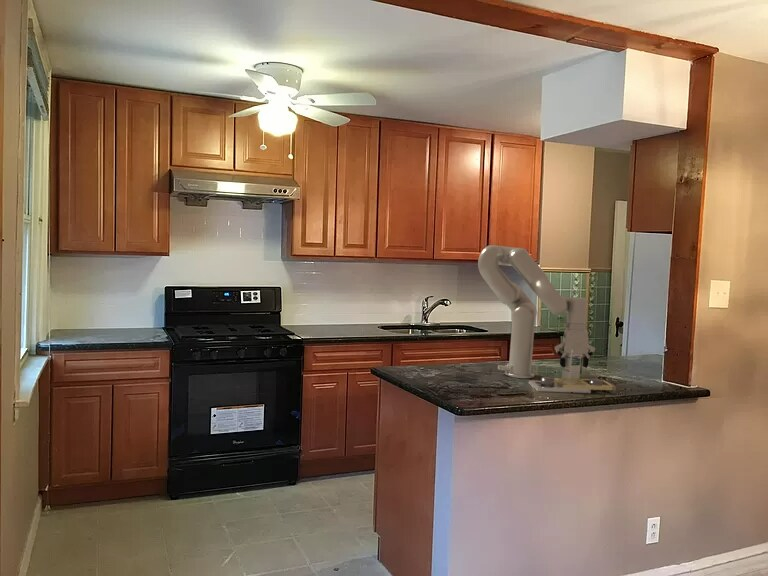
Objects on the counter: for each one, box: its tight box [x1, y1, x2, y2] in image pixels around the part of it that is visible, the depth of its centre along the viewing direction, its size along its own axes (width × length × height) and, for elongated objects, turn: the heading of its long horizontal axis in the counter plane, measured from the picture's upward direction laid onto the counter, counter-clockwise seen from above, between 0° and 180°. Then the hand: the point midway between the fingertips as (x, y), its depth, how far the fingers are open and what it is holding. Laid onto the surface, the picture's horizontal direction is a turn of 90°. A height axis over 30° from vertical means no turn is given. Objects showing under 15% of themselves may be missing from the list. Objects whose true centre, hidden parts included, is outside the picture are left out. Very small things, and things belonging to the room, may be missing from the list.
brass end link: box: [553, 377, 617, 395], centre depth 249 cm, size 21×11×4 cm, turn 94°
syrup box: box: [561, 350, 584, 379], centre depth 261 cm, size 6×6×14 cm
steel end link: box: [528, 376, 592, 394], centre depth 248 cm, size 21×11×4 cm, turn 94°
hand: (573, 366), depth 261 cm, fingers open, 9 cm apart
